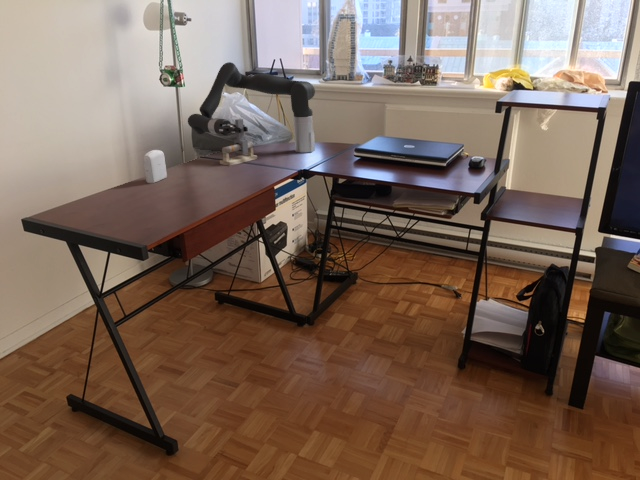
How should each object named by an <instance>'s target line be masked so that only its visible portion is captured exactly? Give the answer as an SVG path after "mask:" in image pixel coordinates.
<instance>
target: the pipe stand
mask: <svg viewBox="0 0 640 480" xmlns="http://www.w3.org/2000/svg"><path fill="white" fill-rule="evenodd" d="M247 142H248V153H247V154H240V155H237V156H233V157H230V153H233V152H234V153H235V151H238V150H242V146H241V144H237V145H234V144H233V145H232V144H231V145H229V146H223V147H222V148H221V151H222V159H221V160H219V164H221V165H223V166H224V165H225V166H234V165H238V164H242V163H246V162H249V161H254V160H257V159H258V155H256V154H254V147H253V146H254V143H253V141H247Z"/></svg>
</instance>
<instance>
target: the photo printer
mask: <svg viewBox="0 0 640 480" xmlns="http://www.w3.org/2000/svg"><path fill="white" fill-rule="evenodd" d="M142 159H143V166H144V174H145V181H146V183H147V184H155V183H157V182H159V181H162V180H164V179H166V178H167V177H168V173H167V166H166V161H165V160H166V158H165V154H164V152H163V151H162V150H159V149H153V150H149V151H148V152H146V153H145V154H144V156H143V158H142Z"/></svg>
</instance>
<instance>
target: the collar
mask: <svg viewBox="0 0 640 480" xmlns="http://www.w3.org/2000/svg"><path fill="white" fill-rule="evenodd" d="M234 122H235V123H234V124H235V125H236V127H238V128H241V129H242V133H237V132H235V135H236V139H234V140H233V145H237V144H241V146H242V150H238V151H234V153H235V154H238V155H239V154H240V155H245V154H247V153H248V142H249V141H248V139H245V132H244V126H245V125H244V118H243V119H242V118H238V119H234ZM243 125H244V126H243Z"/></svg>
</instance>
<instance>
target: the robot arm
mask: <svg viewBox="0 0 640 480" xmlns="http://www.w3.org/2000/svg"><path fill="white" fill-rule="evenodd" d="M225 85H226V86H228V87H230V88H234V89H246V90H250V91H256V92H260V93H262V94H268V95H279V96H280V95H283V96H284V95H285V96H286V95H287V96H290V104H291V106H290V107H291V111H292V112H293V113H292V114H293V128H294V129H293V131H294V150H295V153H300V154H301V153H312V152H314V151H315V150H316V148H315V147H316V144H315V142H316V141H315V131H314V122H313V121H314V119H313V118H314V117H313V110H312V109H311V108H310V105H309V101H311V99H313V98H314V96H315V94H316V88H315V86H314V85H313V84H312V83H311V82H309V81H306V80H305V81H304V80H294V79H293V80H292V79H289V78H288V79H287V78H284V77H281V76H278V75H277V76H276V75H273V74H269V73H266V72H265V73H263V72H261V73H260V72H259V73H256V74H254V75H245V74H242V73H241V72H240V71H239V70H238V67H237V66H236V64H235V63H233V62H230V61H229V62H226V63H224V64H223V65H221V66H220V69H219V70H218V72H217V74H216V77H215V79H214V82H213V85H212V86H211V89H210V90H209V93H208V94H207V96H206V98H205V99H204V101H203V102H202V104H201V105H200V107H199V112H200V113H193V114H190V115H189V117H188V118H187V124H188V126H189V127H190V128H191V129H192V130H194V131H195V132H196V134H198V135H203V134H206V133H210V134H212V135H213V134H214V135H219V136H228V135H230V134H233V133H234V134H236V132H237V133H242V129H241V128H238V127H236V125H235V123H233V122H231V121H230V120H229V119H227V118H226V119H225V118H215V117H214V118H213V116H214V113H216V111H217V109H218V107H219V105H220V103H221V99H222V95H223V90H224V87H225ZM243 126H244V133H245V132H248V126H245V124H243Z"/></svg>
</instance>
